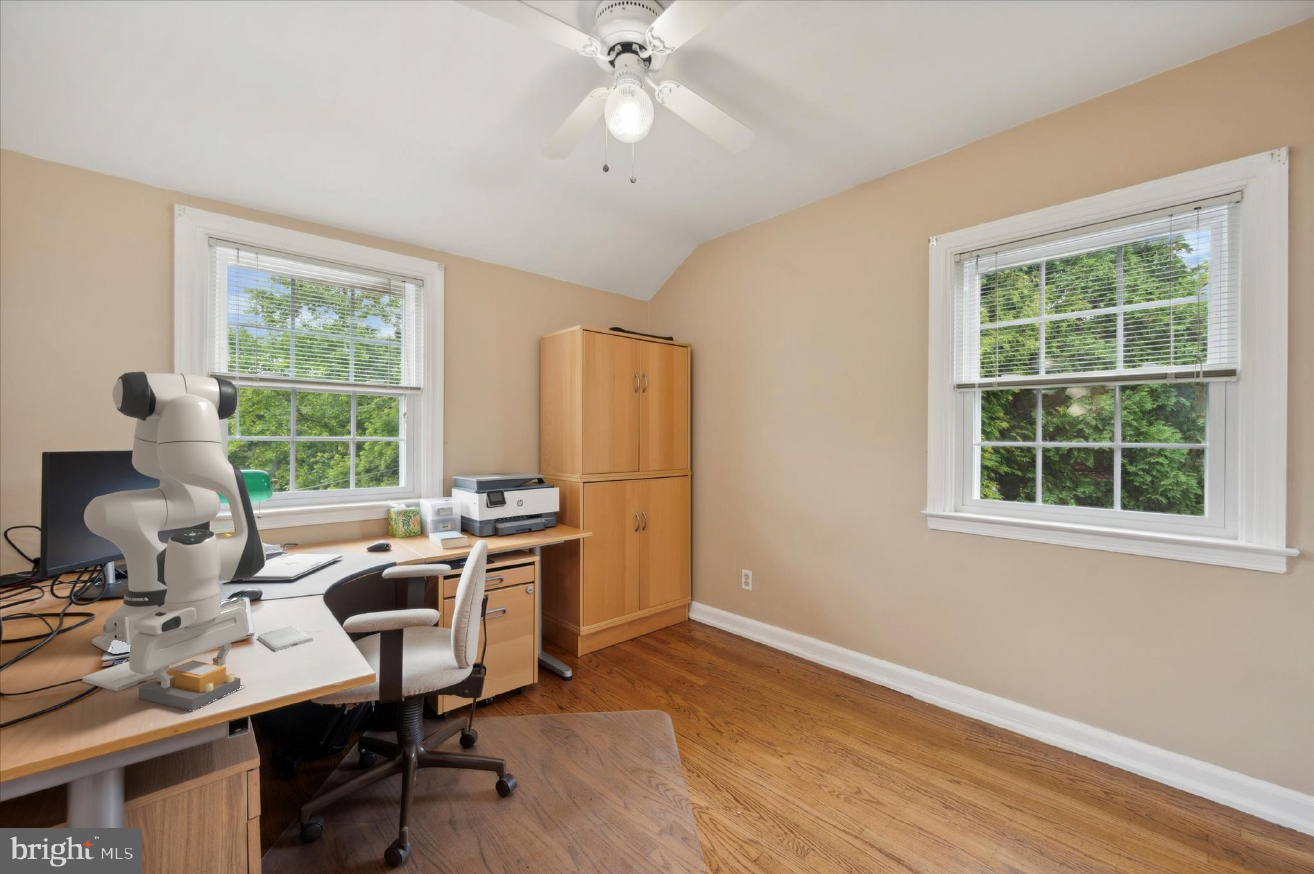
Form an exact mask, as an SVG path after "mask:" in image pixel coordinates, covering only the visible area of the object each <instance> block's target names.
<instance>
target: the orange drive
mask: <svg viewBox="0 0 1314 874" xmlns="http://www.w3.org/2000/svg"><path fill="white" fill-rule="evenodd" d="M166 674H167V675H171V676H175V685H173V686H170V687H173V688H177V689H181V690H186V691H190V692H195V693H200V692H202V691H204V685H205V684H207V683H213V687H214V686H216V685H218V684H221V683H223V682H225V681H226V675H227V667H226V666H224V665H222V666H218V665H213V663H207V662H204V661H203V662H202V661H198V660H191V661H187V662H185V663H181V664H179V665H176V666H174V667H171V668H169V671H167V672H166Z"/></svg>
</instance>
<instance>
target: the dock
mask: <svg viewBox="0 0 1314 874" xmlns="http://www.w3.org/2000/svg"><path fill="white" fill-rule="evenodd" d="M240 686H245V685H244V684H241V678H240V677H235V673H227V674H226V681H225V682H223V683H221V684H218V685H216V686H214V687H213V683H207V684H205V685H204V691H202V692H200V693H195V692H190V691H186V690H181V689H177V688H173V687H168V688H162V687H161V679H160V678H159V677H158V676H157V677H156V680H153V681H151V682H150V681H149V682H148V683H145V684H143V685H140V686H138V699H139V700H142V701H147V702H151V703H155V704H159V705H163V704H164V705H163V706H169V707H172V708H175V709H179V708H181V709H180V710H183V709H186V710H185V711H187V710H191V711H190V712H192V711H193V710H195V709H197V708H199V709H201V708H202V707H201V706H204V705H206V704H208V703H209V702H212V701H213V700H215V699H219V698H220V697H223V696H224V695H227V694H228V693H231V692H233V691H235V690H237V689H239V688H240ZM241 688H242V687H241ZM227 696H228V695H227ZM223 698H224V697H223ZM219 700H220V699H219ZM212 703H213V702H212ZM208 705H209V704H208ZM206 706H207V705H206ZM200 707H201V708H200ZM204 707H205V706H204ZM197 710H198V709H197ZM195 711H196V710H195ZM193 712H194V711H193Z"/></svg>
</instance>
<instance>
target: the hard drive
mask: <svg viewBox="0 0 1314 874" xmlns="http://www.w3.org/2000/svg"><path fill="white" fill-rule="evenodd" d="M257 640H259V641H260V642H261V643H263V644H264V645H265V646H266V647H269V649H270V650H272V651H274V652H276V653H278V652H280V651H279V650H281V651H283V649H284V650H287V649H290V647H291V648H294V647H297V646H300V645H305V644H307V643H311V642H313V641H314V637H311V636H310V635H308V634H307V633H305V632H304V631H303V630H301V629H299V628H297V627H296V626H294V625H291V626H287V627H283V628H279V629H276V630H272V631H269V632H265V633H261V634H259V635H258V636H257Z"/></svg>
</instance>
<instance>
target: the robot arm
mask: <svg viewBox="0 0 1314 874" xmlns="http://www.w3.org/2000/svg"><path fill="white" fill-rule="evenodd" d="M111 395H112V400H113V403H114V405H115V407H116V410H117V411H118V412H120V413H121V414H123V415H124V416H126V417H130V418H134V419H136V422H135V428H134V437H133V445H132V446H133V447H132V456H131V457H132V458H131V464H132V466H133V468H134V469H135V470H136V471H137V472H138V473H140V474H142V475H145V476H146V477H150V478H153V479H156V480H159V485H158V487H154V488H142V489H131V490H120V491H115V492H111V493H108V494H102V495H99V496H95V497H94V498H93V499H92V500H91V501H89V502H88V504H87V506H86V507H85V510H84V513H83V519H84V524H85V526H86V528H88V530H89V532H91V533H93V534H94V535H97V536H98V537H101V538H104V539H105V540H108V541H109V542H111V543H112V544H114V546H115V547H116V548H117V549H119V551H120V552H121V554H122V555H123V557H124V559H125V563H126V564H125V565H126V570H127V580H128V581H127V583H128V584H127V585H128V588H126V589H124V590H122V592H125V593H122V595H123V602H122V603H123V604H122V605H121V606H119V608H117V609H116V610H115V611H114V612H113V613H112V614H110V615H108V617H107V618H105V619H106V620H105V622H104V623H103V625H102V631H103V634H100V635H98V636H96V637H94V638H92V639H91V644H92V645H94V646H96V647H97V648H99V649H101V650H103V651H105V652H106V650H108V649H109V647H110V645H111V642H112V641H113V640H118V641H122V642H125V643H127V645H131V646H130V653H128V655H129V656H128V657H129V659H128V662H129V667H130V670H132V671H133V672H135V673H138V674H144V675H145V674H148V673H151V672H154V673H155V674H156V675H157V676H158V677H159V678H160V679H161V687H162V688H168V687H170V686H173V685H175V676H171V675H167V674H166V672H167V671H169V669H170V666H172V665H175V664H178V663H180V662H182V661H186V660H189V659H190V658H193V657H196V656H198V655H202V654H203V653H206V652H210V651H212V650H215V649H219V650H218V651H217V652H218V653H217V655H216V656H214V657H212V664H213V665H218V666H224V665H226V660H227V659H226V657H227V656H228V654H229V651H230V650H231V649H232V643H234V642H236V641H239V640H242V639H244V638H246V637H247V635H248V634H249V632H250V624H249V619H248V613H247V600H245V599H244V598H243V597H240V596H236V597H232V598H229V599H225V600H222V589H221V587H220V584H219V583H220V582H221V581H222V582H223V581H228V580H231V581H232V580H234V581H235V580H248V579H251V578H253V577H254V576H256V575H257V574H258V573H260V571H261V570H262V569H264V568H265V566H266V565H265V563H266V561H267V560H266V559H267V552H266V548H265V545H264V543H263V540H262V537H261V536H260V534H259V529H258V527H257V522H256V518H255V514H254V509H253V506H252V501H251V498H250V494H249V491H248V487H247V483H246V481H245V477H244V474H243V472H242V471H241V470H242V469H240V468H239V466H237V465H234V464H232V463H231V462H229V460H228V459H227V457H226V454H225V453H224V450H223V435H222V427H221V420H225V419H226V420H227V419H229V418H230V417H232V416H233V415H234V414H235V412H236V410H237V407H238V405H239V393H238V390H237V388H236V386H235V384H234V383H233V382H232V381H230V380H228V379H224V378H219V377H215V376H214V377H209V376H204V375H196V374H193V373H192V374H191V373H183V372H181V373H171V372H167V373H166V372H145V371H131V372H124V373H123V374H121V375H120V376H119V377H118V378H117V381H116V382H115V384H114V385H113V388H112V394H111ZM219 495H220V496H222V497H224V498H225V499H226V501H227V504H228V506H229V510H230V514H231V519H232V521H233V526H234V530H235V533H234V534H233V535H230V536H224V537H223V536H221V537H217V535H216V533H215V532H214V531H211V530H207V529H202V528H201V529H198V528H197V529H196V528H195V529H188V530H182V531H180V532H179V531H178V532H177V533H174V534H172V535H170V536H169V538H168V540H167V543H166V542H162V541H160V539H159V532H161V531H162V532H165V531H170V530H177V529H178V530H179V529H185V528H193V527H195V526H198V525H201V524H205V523H207V522H211V521H213V520H214V519H215V518H216V517H217V516H218V514H219V512H220V510H221V499H220V496H219Z"/></svg>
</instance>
